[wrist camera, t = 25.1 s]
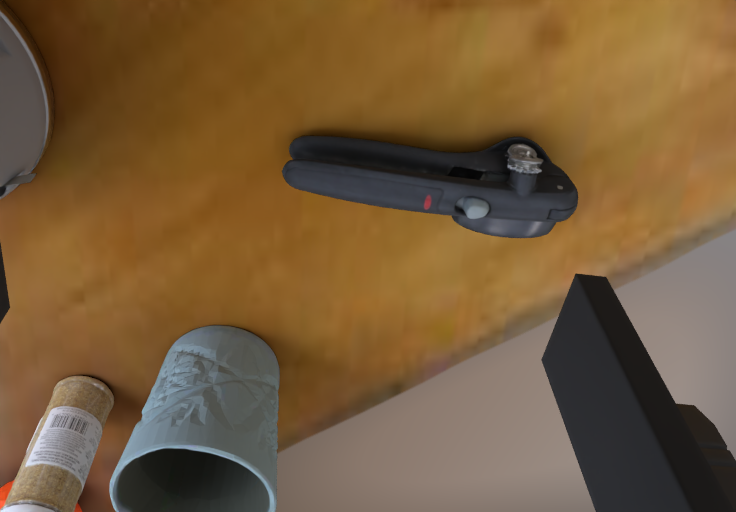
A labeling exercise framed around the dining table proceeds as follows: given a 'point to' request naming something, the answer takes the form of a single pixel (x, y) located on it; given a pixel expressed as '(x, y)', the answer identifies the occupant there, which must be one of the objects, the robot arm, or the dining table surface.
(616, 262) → the dining table surface
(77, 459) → the sprinkles bottle
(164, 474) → the embossed blue cup
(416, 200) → the can opener
